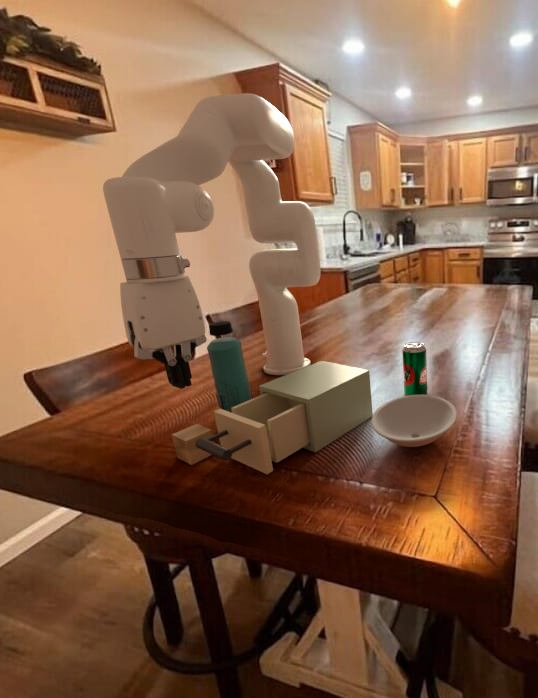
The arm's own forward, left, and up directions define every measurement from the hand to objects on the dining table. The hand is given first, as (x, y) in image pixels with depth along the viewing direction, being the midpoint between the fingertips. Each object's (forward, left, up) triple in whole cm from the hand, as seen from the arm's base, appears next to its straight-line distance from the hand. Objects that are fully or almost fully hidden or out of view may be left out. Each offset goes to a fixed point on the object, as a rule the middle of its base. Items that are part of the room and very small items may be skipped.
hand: (181, 385), depth 65 cm
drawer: (+11, +6, -12) cm, 17 cm away
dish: (+30, +23, -13) cm, 40 cm away
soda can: (+20, +39, -13) cm, 46 cm away
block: (0, 0, -13) cm, 13 cm away
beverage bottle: (-7, +13, -13) cm, 20 cm away
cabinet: (+11, +19, -13) cm, 25 cm away
